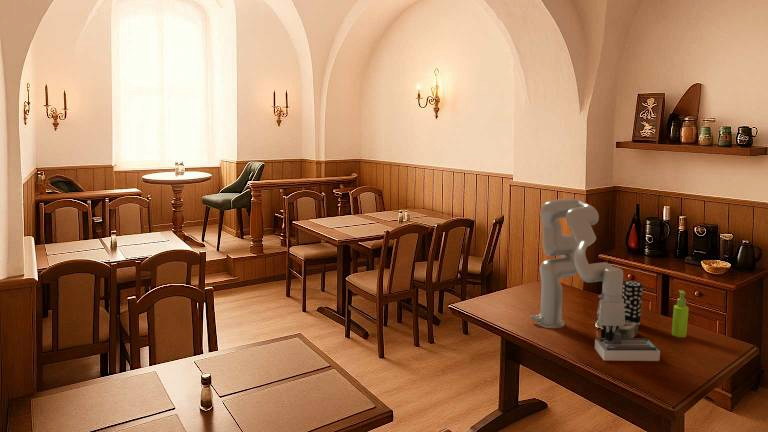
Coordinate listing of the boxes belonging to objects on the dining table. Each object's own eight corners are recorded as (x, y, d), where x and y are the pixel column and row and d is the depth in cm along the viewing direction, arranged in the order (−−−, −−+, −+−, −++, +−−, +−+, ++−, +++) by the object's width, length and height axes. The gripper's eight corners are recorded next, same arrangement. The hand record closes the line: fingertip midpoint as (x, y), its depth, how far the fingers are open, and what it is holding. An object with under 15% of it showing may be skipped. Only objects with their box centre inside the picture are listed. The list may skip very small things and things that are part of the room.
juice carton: (617, 328, 267) (618, 316, 266) (639, 334, 261) (640, 321, 259) (599, 342, 253) (600, 329, 252) (622, 348, 246) (623, 335, 245)
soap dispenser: (684, 332, 261) (688, 290, 258) (687, 338, 255) (691, 294, 251) (670, 330, 263) (673, 288, 260) (672, 336, 257) (676, 293, 253)
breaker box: (603, 360, 234) (604, 348, 233) (594, 348, 245) (595, 336, 244) (659, 360, 233) (660, 348, 232) (647, 348, 244) (648, 337, 243)
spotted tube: (642, 327, 267) (645, 286, 264) (624, 327, 268) (627, 286, 264) (635, 321, 276) (638, 280, 272) (617, 321, 276) (620, 281, 272)
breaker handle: (615, 346, 237) (615, 334, 236) (613, 343, 240) (613, 332, 239) (621, 346, 237) (621, 334, 236) (619, 343, 240) (619, 332, 239)
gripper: (595, 300, 232) (593, 343, 235) (633, 300, 231) (630, 344, 234) (590, 294, 239) (587, 336, 242) (627, 294, 238) (624, 336, 241)
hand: (609, 340), depth 238 cm, fingers closed
